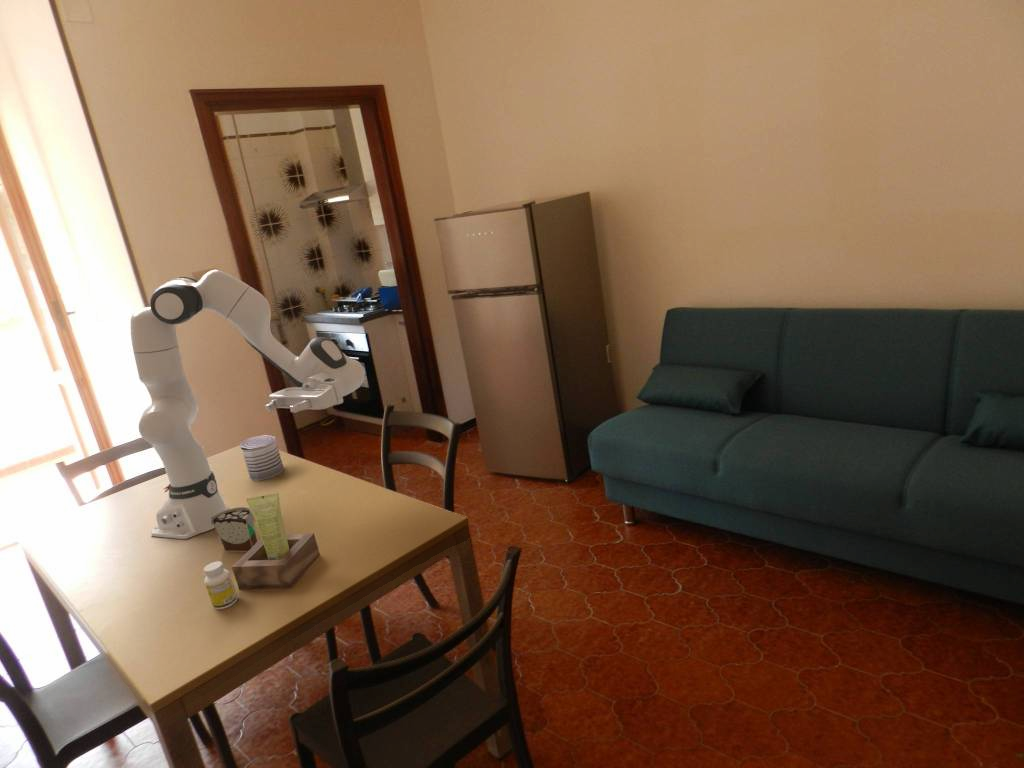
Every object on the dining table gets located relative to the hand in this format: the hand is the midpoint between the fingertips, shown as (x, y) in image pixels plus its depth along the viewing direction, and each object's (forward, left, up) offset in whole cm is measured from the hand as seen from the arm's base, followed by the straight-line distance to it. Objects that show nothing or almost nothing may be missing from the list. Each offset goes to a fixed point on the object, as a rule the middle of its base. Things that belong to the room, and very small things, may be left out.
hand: (279, 409), depth 181 cm
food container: (-15, -9, -34) cm, 38 cm away
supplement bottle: (-4, -35, -34) cm, 49 cm away
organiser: (+3, -22, -34) cm, 41 cm away
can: (-38, +38, -34) cm, 63 cm away
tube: (+5, -23, -33) cm, 40 cm away
